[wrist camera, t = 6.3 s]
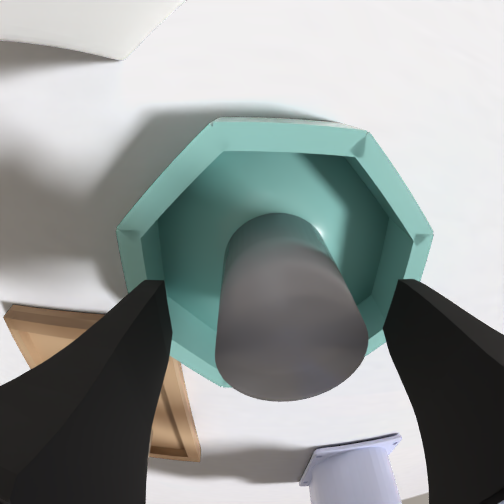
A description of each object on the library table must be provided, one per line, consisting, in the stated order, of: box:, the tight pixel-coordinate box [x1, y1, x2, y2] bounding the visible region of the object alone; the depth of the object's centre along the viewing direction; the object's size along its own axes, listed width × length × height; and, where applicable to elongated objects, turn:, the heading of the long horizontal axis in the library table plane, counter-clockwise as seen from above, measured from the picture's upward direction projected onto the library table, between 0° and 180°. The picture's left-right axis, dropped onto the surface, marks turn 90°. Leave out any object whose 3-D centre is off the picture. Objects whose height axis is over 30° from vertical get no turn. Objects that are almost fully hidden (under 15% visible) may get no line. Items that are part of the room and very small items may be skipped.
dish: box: [116, 117, 434, 387], centre depth 11 cm, size 10×10×3 cm
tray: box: [3, 305, 201, 462], centre depth 16 cm, size 14×10×1 cm
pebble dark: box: [215, 213, 369, 402], centre depth 10 cm, size 4×4×5 cm
